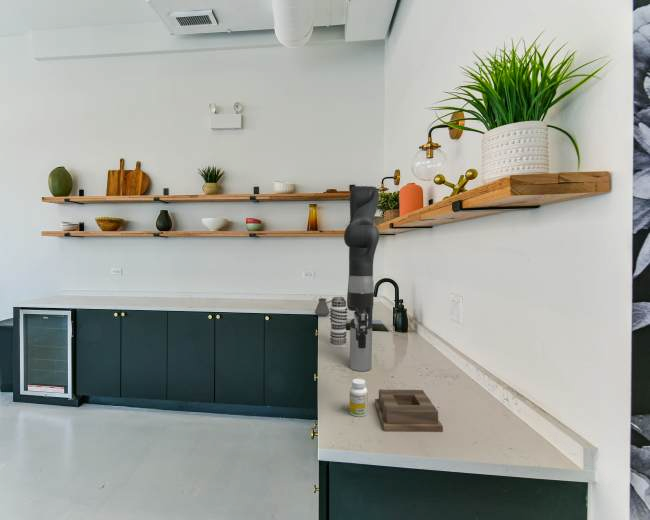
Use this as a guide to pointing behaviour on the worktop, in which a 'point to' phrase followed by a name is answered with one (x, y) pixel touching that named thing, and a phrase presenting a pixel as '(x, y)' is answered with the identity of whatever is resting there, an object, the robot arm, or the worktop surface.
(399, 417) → the bottle dock
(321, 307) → the coffee pot
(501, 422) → the worktop surface
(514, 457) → the worktop surface
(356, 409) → the supplement bottle
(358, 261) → the robot arm
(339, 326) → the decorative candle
